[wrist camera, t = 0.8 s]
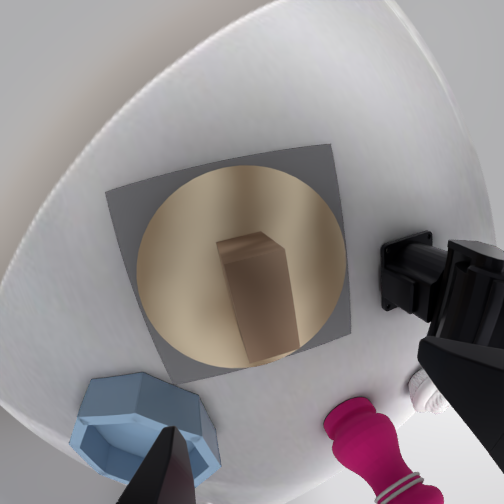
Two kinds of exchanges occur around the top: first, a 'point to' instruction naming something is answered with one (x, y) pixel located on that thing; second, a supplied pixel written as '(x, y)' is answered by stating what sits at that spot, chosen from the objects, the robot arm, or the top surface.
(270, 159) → the mat
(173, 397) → the bowl
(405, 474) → the pepper mill
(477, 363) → the robot arm
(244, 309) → the lid
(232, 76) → the top surface
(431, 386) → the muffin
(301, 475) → the top surface
